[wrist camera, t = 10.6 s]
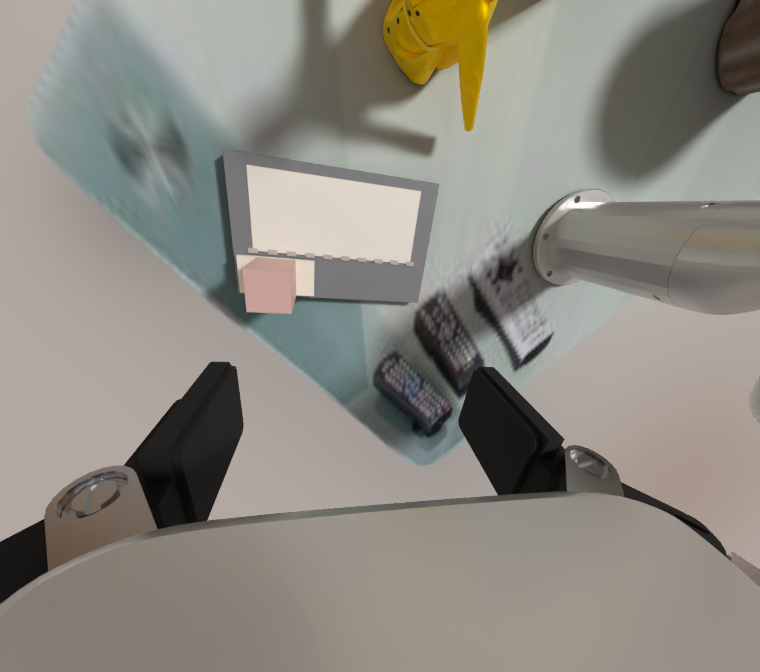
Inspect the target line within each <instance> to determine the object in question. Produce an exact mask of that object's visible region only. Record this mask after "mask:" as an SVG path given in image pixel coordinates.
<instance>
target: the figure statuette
mask: <svg viewBox="0 0 760 672" xmlns="http://www.w3.org/2000/svg"><path fill="white" fill-rule="evenodd" d="M497 1H498V0H393V1H392V3H391V4H390V7H389V9H388V11H387V14H386V16H385V18H384V22H383V38H384V41H385V43H386V45H387V47H388V49H389V51H390V52H391V54H392V55H393V57H394V59H395V61H396V62H397V64H398V65H399V67H400V68H401V69H402V71H403V72H404V73H405V74H406V75H407V76H408V78H409V79H410V80H411V81H412V82H414V83H416V84H420V85H423V84H425V83H426V82H427V81H428V80H429V78H430V76H431V75H432V73H433V71H434V69H435V68H436V67H437V68H438V69H440V70H442V69H446V68H449V67H451V66H452V65H454V64H455V63H456V62H457V61H458V63H459V80H460V92H461V103H462V112H463V119H464V125H465V130H466V131H471V130H472V129H473V127H474V121H475V116H476V110H477V105H478V99H479V93H480V88H481V83H482V78H483V71H484V63H485V54H486V45H487V34H488V23H489V21H490V19H491V17H492V15H493V12H494V9H495V7H496V4H497Z"/></svg>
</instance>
